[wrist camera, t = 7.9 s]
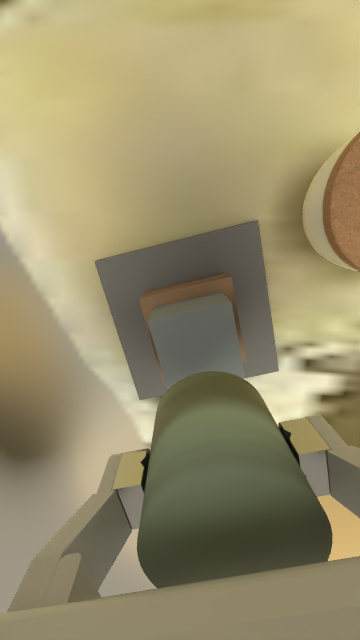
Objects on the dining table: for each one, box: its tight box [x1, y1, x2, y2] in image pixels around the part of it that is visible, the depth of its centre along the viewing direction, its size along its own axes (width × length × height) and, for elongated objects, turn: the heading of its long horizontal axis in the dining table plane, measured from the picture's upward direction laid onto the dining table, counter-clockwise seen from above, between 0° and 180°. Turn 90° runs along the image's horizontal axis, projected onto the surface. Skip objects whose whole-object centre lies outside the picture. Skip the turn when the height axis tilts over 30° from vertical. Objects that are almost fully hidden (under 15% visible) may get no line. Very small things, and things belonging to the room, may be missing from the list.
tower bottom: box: [139, 273, 247, 381], centre depth 24 cm, size 8×8×4 cm
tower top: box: [148, 292, 245, 390], centre depth 20 cm, size 6×6×4 cm
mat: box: [95, 220, 279, 400], centre depth 26 cm, size 16×16×1 cm
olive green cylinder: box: [137, 371, 332, 588], centre depth 9 cm, size 5×5×5 cm
